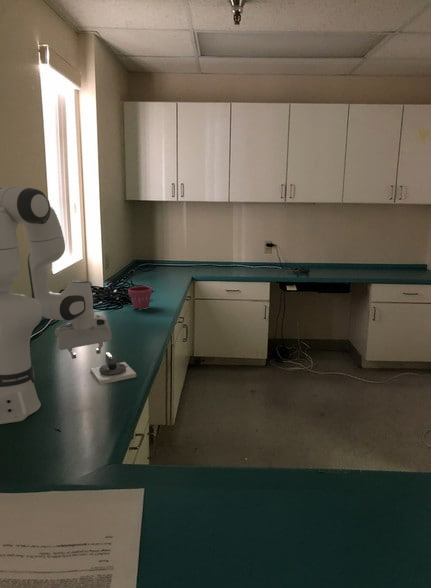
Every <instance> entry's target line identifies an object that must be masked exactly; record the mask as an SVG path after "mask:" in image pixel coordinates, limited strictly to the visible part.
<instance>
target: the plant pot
mask: <svg viewBox="0 0 431 588" xmlns="http://www.w3.org/2000/svg"><path fill="white" fill-rule="evenodd" d="M152 289H153V288H152V286H145V285H143V286H140V285H139V286H132V287H130V288H128V290H127V291H128V296H129V297H130V302H131V304H132V308H133V307H134V308H139V309H141V308H142V309H143V308H147V307H149V308H150V302H151V296H152V295H153V290H152ZM134 308H133V309H134Z"/></svg>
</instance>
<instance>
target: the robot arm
mask: <svg viewBox="0 0 431 588" xmlns="http://www.w3.org/2000/svg"><path fill="white" fill-rule="evenodd" d="M19 224H20V225H21V224H22V225H24V227H25V229H26V234H27V237H28V238H27V239H28V241H29V247H30V248H29V249H30V250H29V251H30V253H28V257H27V268H28V269H27V270H28V275H29V282H30V290H31V296H30V295H29V296H28V295H27V294H21V293H13V283H14V280H15V278H17V277H18V276H19V275H20V274H21V270H22V269H21V260H20V252H19V251H20V250H19V243H18V236H17V228H18V225H19ZM64 237H65V236H64V233H63V229H62V226H61V223H60V220H59V218H58V215H57V214H56V211H55V209H54V208H53V207H52V206H51V202H50V200H49V198H48V196H47V195H46V194H45V193H44V192H43V191H42V190H40V189H37V188H33V187H19V186H18V187H17V186H11V187H10V186H9V187H3V188H2V187H0V425H4V424H9V423H17V422H22V421H24V420H25V419H27V417H29V416H30V415H32V414H33V413H36V412H37V411H38V410H40V408H41V405H42V403H41V402H40V399H39V397H38V394H37V390H36V387H35V372H34V371H35V370H34V367H33V366H34V365H32V362H31V360H32V359H31V350H30V343H31V337H32V333H33V331H34V329H35V328H36V327H37V326H38V325H39V324H40V322H41V321H42V320H43V319H46V320H55V321H56V320H57V321H66V322H68V321H70V323H66V324H61V325H60V324H59V325H58V326H57V327H56V328H54V329H55V330H54V334H55V336H56V346H57V348H58V349H59V350H61V351H64V350H67V351H68V352H69V354H70V355H71V359H72V360H73V359H77V354H76V352H72V351H73V349H75V348H80V347H85V346H86V347H87V346H90V345H94V344H95V345H98V346H97V348H95V353H96V354H97V355H99V354H101V353H102V352H101V351H102V348H103V346H104V344H103V343H105V342H111V340H112V332H111V327H110V326H109V324H108V319H107V318H106V317H105V316H103V315H101V314H95V311H94V307H93V306H94V305H93V304H94V298H93V297H94V296H93V291H92V287H91V284H90V283H89V282H88V281H87V280H70V281H68V283H67V284H68V285H67V286H66V288H65V289H64V290H63V291H62V292H60V293H59V292H53V291H52V290H51V289H50V286H49V280H48V279H49V278H48V273H47V270H48V266H50V265H51V264H52V263H53V264H54V263H55V262H56V261H58V260H60V259H61V258H62V256H63V255H64V253H65V251H66V243H65V238H64Z"/></svg>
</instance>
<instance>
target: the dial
mask: <svg viewBox="0 0 431 588" xmlns="http://www.w3.org/2000/svg"><path fill="white" fill-rule="evenodd" d="M105 363H106V364H104V365H101V366H102V367H100V366H99V367H100V369H99V371H100V373H101V374H103V375H117V374H121V373H123V372H125V370H126V366H125V365H124V364H120V363H121V362H117V357H115V356H113V355H112V354H111V353H110V352H109V351H108V352H107V351H106V352H105Z"/></svg>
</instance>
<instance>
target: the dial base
mask: <svg viewBox="0 0 431 588" xmlns="http://www.w3.org/2000/svg"><path fill="white" fill-rule="evenodd" d="M119 363H120V364H124V365H125V366H126V370H125V372H123V373H121V374H117V375H103V374H101V373H100V371H99V369H100V367H102V366H103V365H101V366H96V367H91V368H90V373H91V374H92V375H93V377H94V379H95V380H96V381H97V383H98V384H99V385H104V384H110V383H114V382H118V381H123V380H128V379H134V378H137V373H136V372H135V370H133V368H132V367H131V366H129V364H127V362H126V361H123V362H119Z"/></svg>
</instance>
